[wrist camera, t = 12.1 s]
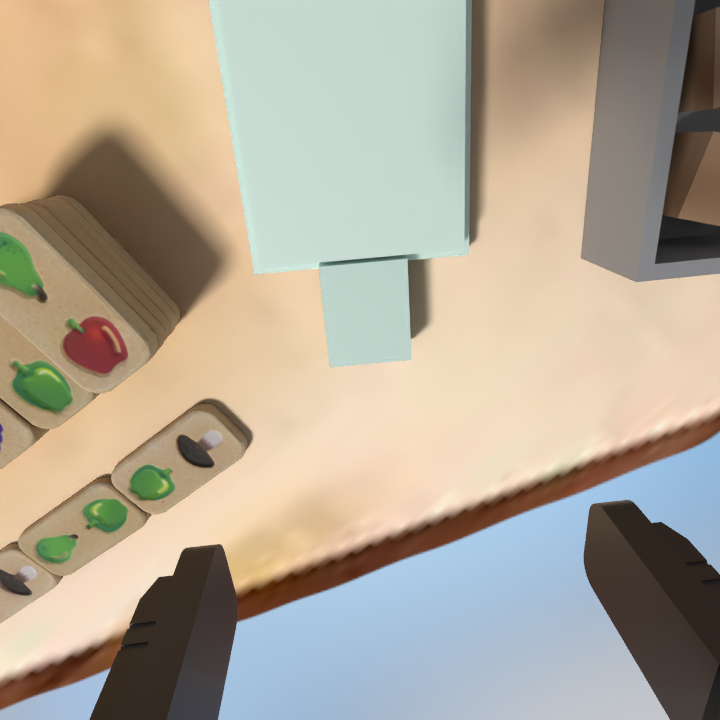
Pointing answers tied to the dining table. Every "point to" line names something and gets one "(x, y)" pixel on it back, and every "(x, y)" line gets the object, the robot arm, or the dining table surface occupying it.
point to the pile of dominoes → (86, 386)
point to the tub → (644, 145)
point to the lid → (351, 149)
